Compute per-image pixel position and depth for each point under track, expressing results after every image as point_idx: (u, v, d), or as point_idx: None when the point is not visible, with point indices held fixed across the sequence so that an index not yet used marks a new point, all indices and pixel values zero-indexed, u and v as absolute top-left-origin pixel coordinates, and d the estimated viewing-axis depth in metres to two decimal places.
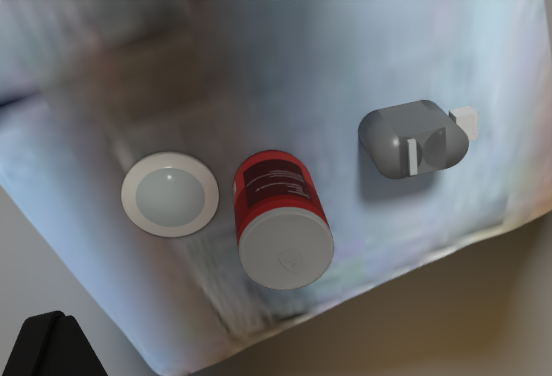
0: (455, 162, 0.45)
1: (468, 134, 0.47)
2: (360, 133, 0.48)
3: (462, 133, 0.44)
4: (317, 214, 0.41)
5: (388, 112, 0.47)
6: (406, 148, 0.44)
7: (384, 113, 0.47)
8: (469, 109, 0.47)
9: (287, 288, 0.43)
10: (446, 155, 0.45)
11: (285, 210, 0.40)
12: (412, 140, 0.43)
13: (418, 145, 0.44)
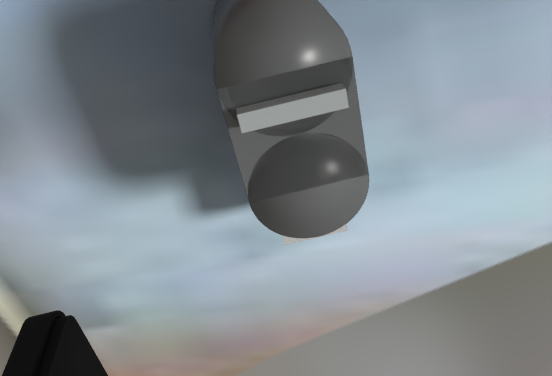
0: (266, 220, 0.18)
1: None
2: None
3: (347, 216, 0.18)
4: None
5: None
6: (316, 87, 0.15)
7: None
8: None
9: None
10: (288, 195, 0.17)
11: None
12: None
13: (321, 118, 0.16)
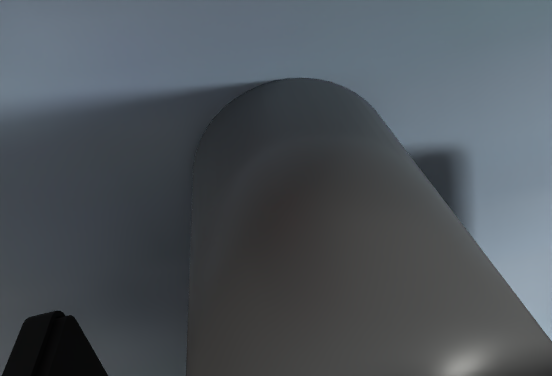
0: None
1: None
2: (301, 93, 0.09)
3: None
4: None
5: None
6: None
7: None
8: None
9: None
10: None
11: None
12: None
13: None
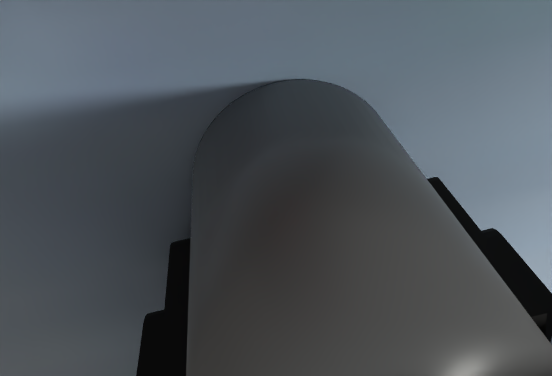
0: None
1: None
2: (302, 95, 0.09)
3: None
4: None
5: None
6: None
7: None
8: None
9: None
10: None
11: None
12: None
13: None
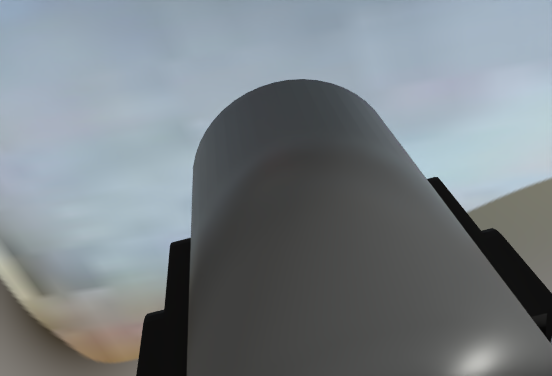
0: None
1: None
2: (302, 95, 0.09)
3: None
4: None
5: None
6: None
7: None
8: None
9: None
10: None
11: None
12: None
13: None
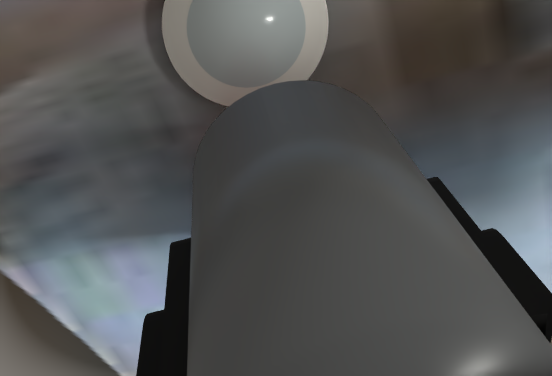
0: None
1: None
2: (302, 96, 0.09)
3: None
4: None
5: None
6: None
7: None
8: None
9: None
10: None
11: None
12: None
13: None
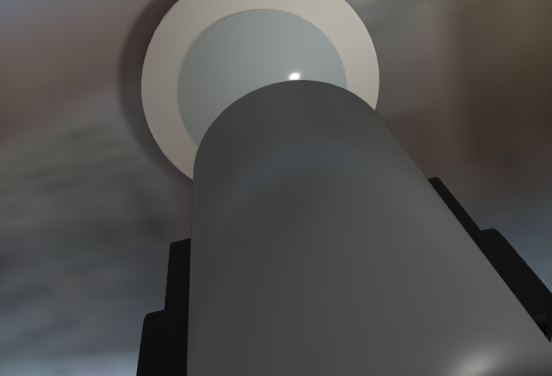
0: None
1: None
2: (302, 95, 0.09)
3: None
4: None
5: None
6: None
7: None
8: None
9: None
10: None
11: None
12: None
13: None
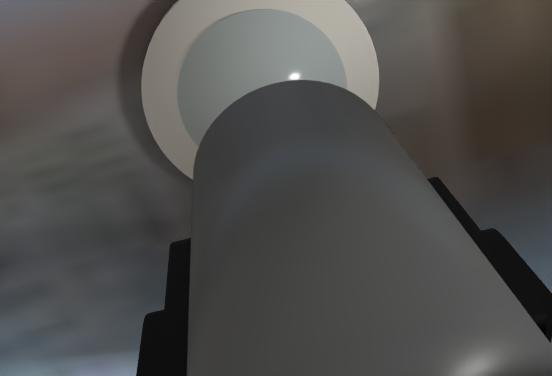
0: None
1: None
2: (302, 95, 0.09)
3: None
4: None
5: None
6: None
7: None
8: None
9: None
10: None
11: None
12: None
13: None
